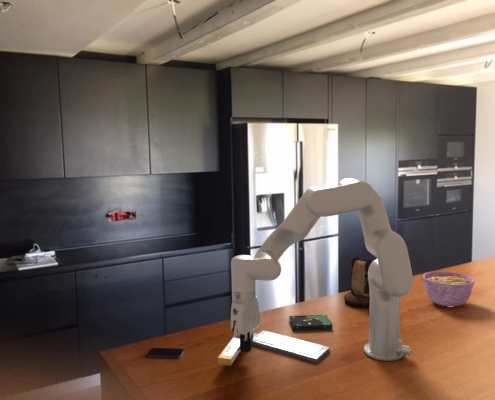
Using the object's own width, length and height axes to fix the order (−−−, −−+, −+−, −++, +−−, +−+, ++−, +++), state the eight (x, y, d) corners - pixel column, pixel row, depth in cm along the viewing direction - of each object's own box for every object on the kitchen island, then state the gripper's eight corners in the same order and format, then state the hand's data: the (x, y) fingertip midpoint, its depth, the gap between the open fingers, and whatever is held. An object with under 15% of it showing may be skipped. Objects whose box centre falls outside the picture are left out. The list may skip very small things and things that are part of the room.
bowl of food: (476, 301, 202) (477, 275, 201) (469, 316, 185) (471, 287, 184) (427, 293, 213) (428, 269, 211) (417, 307, 196) (418, 280, 195)
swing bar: (230, 371, 141) (230, 356, 140) (217, 369, 142) (217, 354, 141) (256, 332, 169) (255, 320, 168) (245, 331, 170) (244, 318, 169)
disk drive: (293, 333, 173) (333, 331, 173) (293, 326, 172) (333, 324, 173) (288, 322, 183) (326, 320, 184) (288, 315, 182) (326, 313, 183)
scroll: (337, 302, 203) (337, 257, 200) (356, 295, 213) (357, 251, 210) (366, 311, 192) (367, 263, 189) (385, 303, 202) (387, 257, 199)
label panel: (329, 351, 156) (329, 346, 155) (316, 363, 147) (316, 358, 147) (251, 330, 174) (251, 326, 173) (235, 340, 165) (235, 335, 165)
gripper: (239, 304, 139) (241, 362, 141) (266, 290, 151) (268, 344, 153) (219, 299, 143) (221, 356, 145) (247, 286, 155) (249, 339, 158)
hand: (245, 350), depth 149 cm, fingers closed
